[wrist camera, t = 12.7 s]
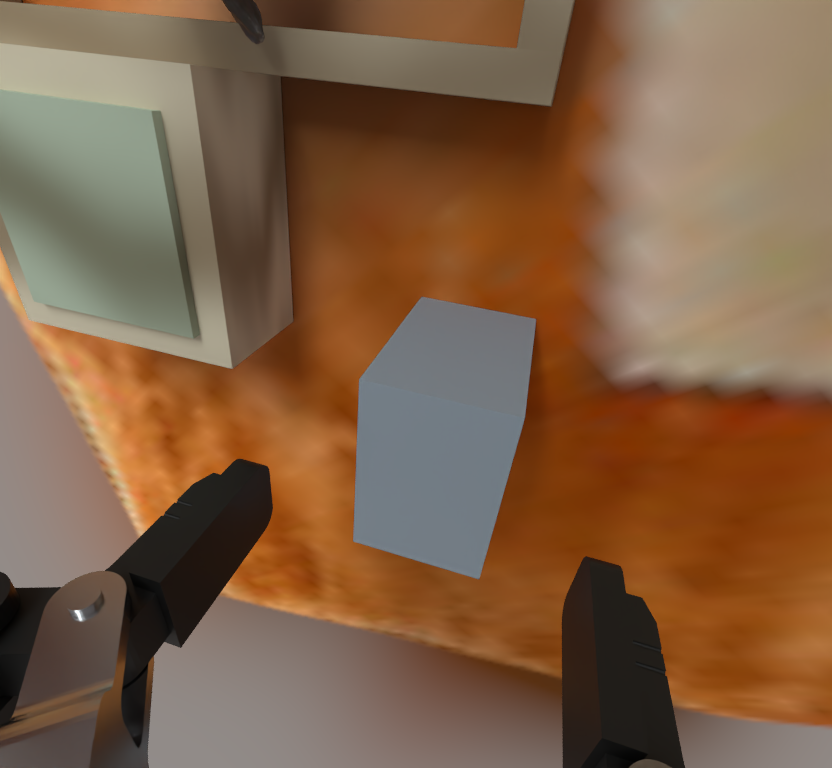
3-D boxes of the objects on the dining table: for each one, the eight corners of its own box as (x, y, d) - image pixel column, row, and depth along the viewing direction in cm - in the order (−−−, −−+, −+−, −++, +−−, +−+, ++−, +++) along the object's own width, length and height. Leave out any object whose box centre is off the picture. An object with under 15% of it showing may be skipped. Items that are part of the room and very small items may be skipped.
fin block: (421, 296, 16) (359, 379, 11) (536, 318, 15) (524, 417, 10) (407, 430, 19) (353, 541, 14) (500, 453, 18) (479, 579, 13)
